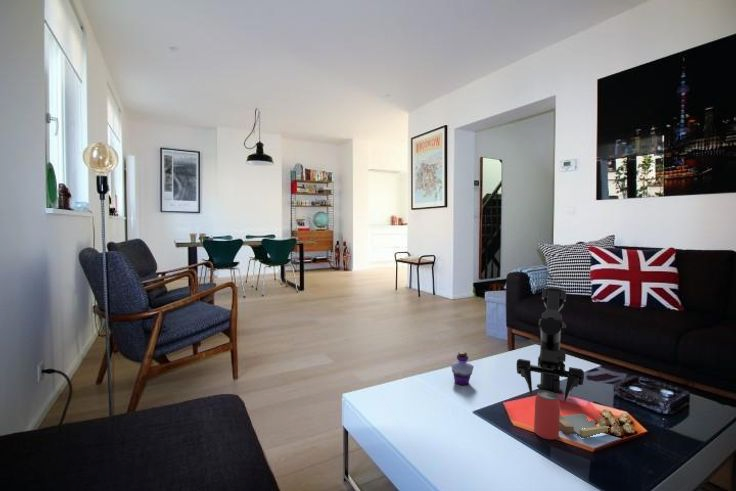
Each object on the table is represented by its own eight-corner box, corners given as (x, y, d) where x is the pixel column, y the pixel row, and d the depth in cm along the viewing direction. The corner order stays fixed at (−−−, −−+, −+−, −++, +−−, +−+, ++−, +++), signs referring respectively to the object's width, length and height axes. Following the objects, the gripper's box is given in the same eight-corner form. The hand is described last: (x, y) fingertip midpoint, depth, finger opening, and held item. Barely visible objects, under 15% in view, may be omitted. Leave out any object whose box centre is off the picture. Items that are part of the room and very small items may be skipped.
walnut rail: (543, 414, 121) (543, 406, 121) (550, 414, 121) (551, 406, 121) (565, 435, 109) (565, 426, 109) (573, 434, 109) (573, 426, 109)
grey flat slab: (554, 419, 118) (554, 412, 118) (583, 415, 120) (583, 408, 120) (582, 439, 107) (582, 431, 107) (613, 434, 110) (613, 426, 110)
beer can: (561, 442, 106) (563, 400, 105) (536, 439, 107) (538, 398, 106) (554, 429, 112) (556, 390, 111) (531, 426, 113) (533, 388, 113)
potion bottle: (472, 379, 148) (473, 349, 147) (474, 388, 140) (475, 357, 139) (450, 377, 150) (450, 348, 149) (450, 386, 141) (451, 355, 140)
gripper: (518, 334, 119) (513, 379, 110) (585, 343, 111) (585, 393, 102) (519, 351, 127) (514, 395, 118) (582, 360, 118) (582, 409, 109)
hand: (547, 398), depth 111 cm, fingers open, 9 cm apart
